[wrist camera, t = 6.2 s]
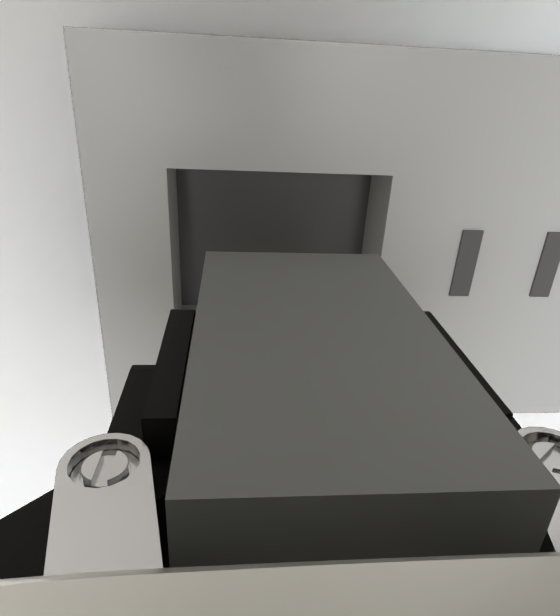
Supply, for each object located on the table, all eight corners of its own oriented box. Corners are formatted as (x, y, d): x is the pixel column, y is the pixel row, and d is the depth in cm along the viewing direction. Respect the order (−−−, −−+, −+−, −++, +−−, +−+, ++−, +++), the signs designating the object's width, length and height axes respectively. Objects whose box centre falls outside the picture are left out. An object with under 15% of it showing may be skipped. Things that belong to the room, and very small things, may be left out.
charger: (206, 251, 12) (163, 507, 5) (379, 254, 13) (568, 495, 6) (208, 397, 14) (179, 738, 7) (359, 396, 15) (482, 717, 7)
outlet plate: (92, 31, 16) (61, 26, 13) (619, 62, 18) (691, 62, 15) (127, 374, 22) (111, 420, 19) (521, 371, 23) (560, 414, 21)
